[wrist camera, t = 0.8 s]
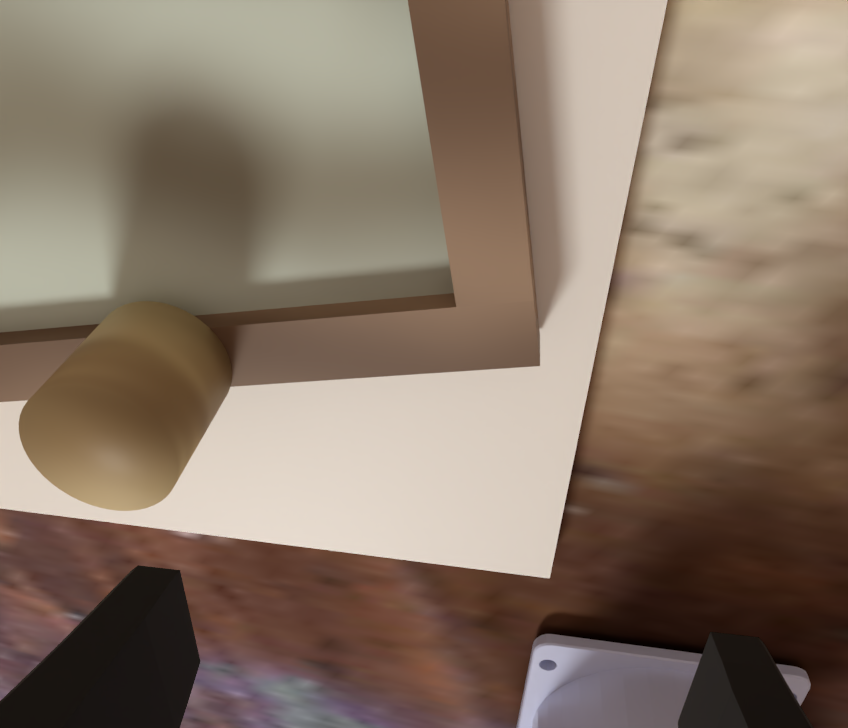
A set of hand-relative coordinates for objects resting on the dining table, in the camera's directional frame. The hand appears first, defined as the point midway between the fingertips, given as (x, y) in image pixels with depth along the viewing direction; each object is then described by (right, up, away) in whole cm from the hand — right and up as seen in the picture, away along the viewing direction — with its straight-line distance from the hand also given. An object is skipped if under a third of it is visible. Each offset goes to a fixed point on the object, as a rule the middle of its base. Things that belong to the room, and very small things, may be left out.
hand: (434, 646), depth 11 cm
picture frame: (-6, +8, +5) cm, 11 cm away
